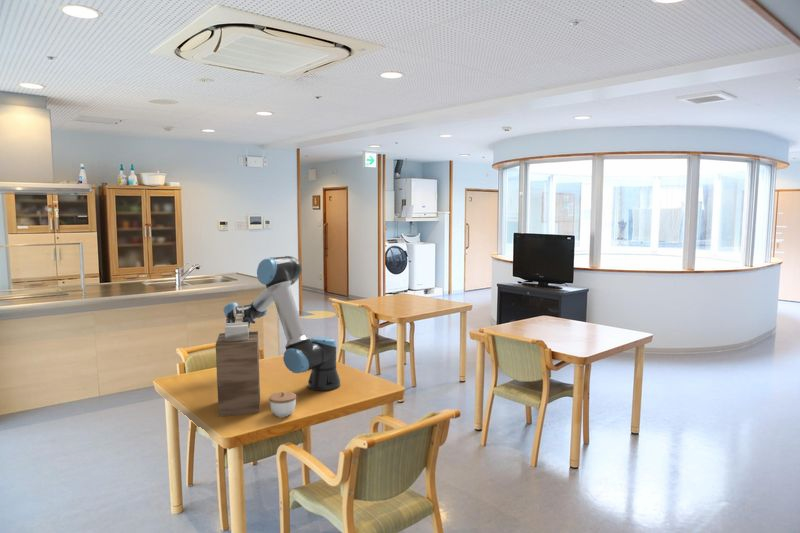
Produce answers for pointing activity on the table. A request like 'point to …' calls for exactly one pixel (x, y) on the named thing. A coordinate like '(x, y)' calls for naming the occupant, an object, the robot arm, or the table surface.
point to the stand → (238, 375)
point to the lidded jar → (282, 403)
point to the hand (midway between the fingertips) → (238, 309)
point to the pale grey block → (237, 330)
